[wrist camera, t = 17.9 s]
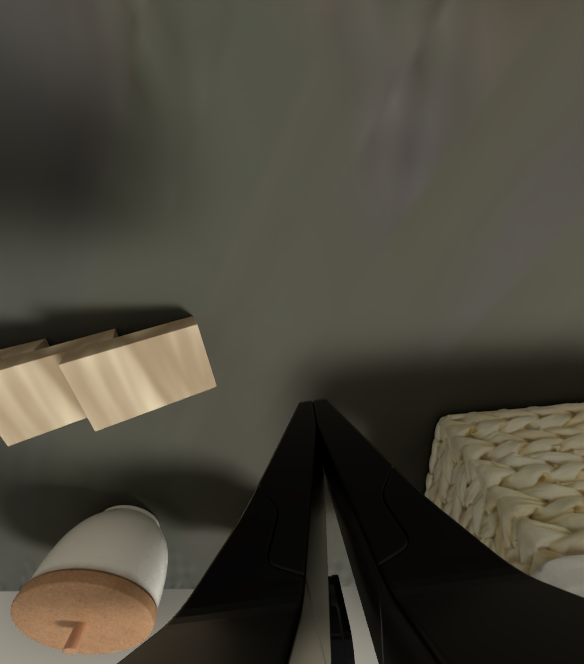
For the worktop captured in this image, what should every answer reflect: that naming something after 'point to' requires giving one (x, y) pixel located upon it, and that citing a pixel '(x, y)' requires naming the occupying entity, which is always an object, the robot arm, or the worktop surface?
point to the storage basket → (517, 486)
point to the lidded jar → (97, 585)
